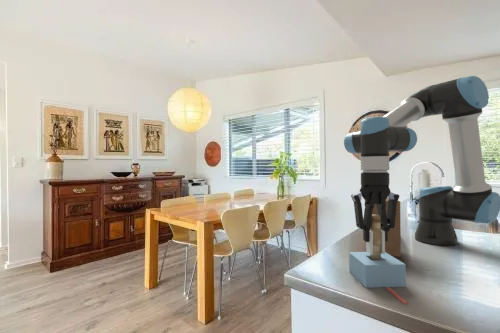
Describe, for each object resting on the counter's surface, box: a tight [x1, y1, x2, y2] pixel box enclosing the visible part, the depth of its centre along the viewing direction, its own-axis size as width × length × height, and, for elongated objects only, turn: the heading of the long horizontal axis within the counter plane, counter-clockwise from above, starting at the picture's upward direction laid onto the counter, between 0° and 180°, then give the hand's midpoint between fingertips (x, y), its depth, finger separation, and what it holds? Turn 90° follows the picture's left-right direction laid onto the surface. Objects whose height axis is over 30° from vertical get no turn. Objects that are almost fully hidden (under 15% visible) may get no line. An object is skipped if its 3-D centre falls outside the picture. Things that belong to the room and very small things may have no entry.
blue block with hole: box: [348, 251, 407, 289], centre depth 79 cm, size 11×11×6 cm
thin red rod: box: [385, 287, 408, 305], centre depth 69 cm, size 1×8×1 cm, turn 2°
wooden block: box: [364, 197, 402, 258], centre depth 103 cm, size 10×10×20 cm
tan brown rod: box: [370, 214, 381, 260], centre depth 79 cm, size 3×3×16 cm
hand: (375, 252), depth 79 cm, fingers closed on tan brown rod, 3 cm apart
